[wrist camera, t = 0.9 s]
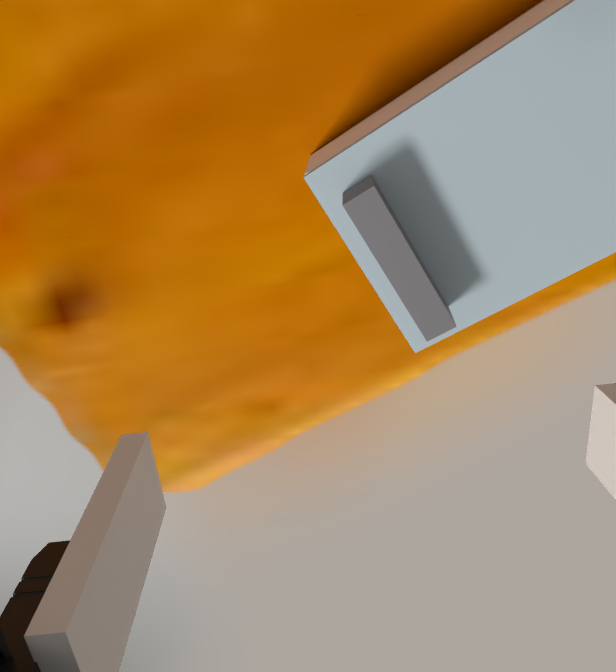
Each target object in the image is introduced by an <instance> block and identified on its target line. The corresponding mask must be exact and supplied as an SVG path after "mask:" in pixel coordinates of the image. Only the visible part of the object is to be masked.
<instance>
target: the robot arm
mask: <svg viewBox="0 0 616 672" xmlns="http://www.w3.org/2000/svg"><path fill="white" fill-rule="evenodd" d="M586 464H587V466H588V467H589V468H590V469H591V470H592V472H593V473H594V474H595V475H596V477H597V478H598V479H599V480H600V481H601V483H602V484H603V485H604V486H605V487H606V488H607V490H608V491H609V492H610V493H611V495H612V496H613V497H614V498H615V499H616V383H614V384H605V385H596V386H595V390H594V399H593V406H592V415H591V424H590V432H589V440H588V448H587V456H586ZM165 510H166V505H165V500H164V497H163V492H162V488H161V484H160V480H159V476H158V472H157V468H156V464H155V460H154V456H153V452H152V447H151V443H150V439H149V435H148V432H145V433H135V434H126V435H121V437H120V439H119V441H118V443H117V445H116V448H115V450H114V452H113V454H112V456H111V458H110V460H109V462H108V464H107V466H106V468H105V470H104V472H103V474H102V476H101V478H100V480H99V483H98V485H97V487H96V489H95V491H94V493H93V495H92V497H91V499H90V501H89V503H88V505H87V507H86V509H85V511H84V514H83V515H82V518H81V520H80V522H79V524H78V526H77V528H76V530H75V532H74V534H73V536H72V538H71V540H70V541H61V542H51V543H48V544H47V545H46V546H45V547H44V548H43V549H42V550H41V551H40V552H39V553H38V554H37V555H36V556H35V557H34V558H33V559H32V560H31V562H30V564H29V565H28V567H27V569H26V571H25V573H24V575H23V577H22V581H21V582H19V584H18V586H17V587H16V589H15V591H14V593H13V597H11V598H10V600H9V602H8V604H7V605H6V607H5V609H4V611H3V613H2V615H1V616H0V672H119V668H120V665H121V662H122V658H123V655H124V651H125V647H126V644H127V641H128V637H129V634H130V631H131V627H132V624H133V620H134V617H135V613H136V610H137V606H138V603H139V599H140V596H141V592H142V589H143V586H144V582H145V579H146V575H147V572H148V568H149V565H150V561H151V558H152V554H153V551H154V547H155V544H156V541H157V537H158V534H159V530H160V527H161V524H162V520H163V517H164V513H165Z"/></svg>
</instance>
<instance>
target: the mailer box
mask: <svg viewBox="0 0 616 672" xmlns="http://www.w3.org/2000/svg"><path fill="white" fill-rule="evenodd" d="M570 1H572V0H543V1H541V2H540V3H538V4H537V5H535V6H534V7H532V8H531V9H529V10H528V11H526V12H525V13H523V14H522V15H520V16H519V17H517V18H516V19H514V20H513V21H511V22H510V23H508V24H507V25H505V26H504V27H502V28H501V29H499V30H498V31H496V32H495V33H493V34H492V35H490V36H489V37H487V38H486V39H484V40H483V41H481V42H480V43H478V44H477V45H475V46H474V47H472V48H470V49H469V50H467V51H466V52H464V53H463V54H461V55H460V56H458V57H457V58H455V59H454V60H452V61H451V62H449V63H448V64H446V65H445V66H443V67H442V68H440V69H439V70H437V71H436V72H434V73H433V74H431V75H430V76H428V77H427V78H425V79H424V80H422V81H421V82H419V83H418V84H416V85H415V86H413V87H412V88H410V89H409V90H407V91H406V92H404V93H403V94H401V95H400V96H398V97H397V98H395V99H394V100H392V101H391V102H389V103H388V104H386V105H385V106H383V107H382V108H380V109H379V110H377V111H376V112H374V113H373V114H371V115H370V116H368V117H367V118H365V119H364V120H362V121H361V122H359V123H358V124H356V125H355V126H353V127H352V128H350V129H349V130H347V131H346V132H344V133H343V134H341V135H340V136H338V137H337V138H335V139H334V140H332V141H331V142H329V143H328V144H326V145H325V146H323V147H322V148H320V149H319V150H317V151H315V152H314V153H312V154H311V155H310V159H309V162H308V165H307V168H306V171H305V174H304V175H306V174H307V173H309V172H310V171H312V170H313V169H315V168H316V167H318V166H319V165H321V164H322V163H324V162H326V161H327V160H329V159H330V158H332V157H333V156H335V155H336V154H338V153H339V152H341V151H342V150H344V149H345V148H347V147H348V146H350V145H352V144H353V143H355V142H356V141H358V140H359V139H361V138H362V137H364V136H365V135H367V134H368V133H370V132H371V131H373V130H374V129H376V128H378V127H379V126H381V125H382V124H384V123H385V122H387V121H388V120H390V119H391V118H393V117H394V116H396V115H397V114H399V113H400V112H402V111H404V110H405V109H407V108H408V107H410V106H411V105H413V104H414V103H416V102H417V101H419V100H420V99H422V98H423V97H425V96H426V95H428V94H430V93H431V92H433V91H434V90H436V89H437V88H439V87H440V86H442V85H443V84H445V83H446V82H448V81H449V80H451V79H452V78H454V77H456V76H457V75H459V74H460V73H462V72H463V71H465V70H466V69H468V68H469V67H471V66H472V65H474V64H475V63H477V62H478V61H480V60H482V59H483V58H485V57H486V56H488V55H489V54H491V53H492V52H494V51H495V50H497V49H498V48H500V47H501V46H503V45H504V44H506V43H508V42H509V41H511V40H512V39H514V38H515V37H517V36H518V35H520V34H521V33H523V32H524V31H526V30H527V29H529V28H530V27H532V26H533V25H535V24H537V23H538V22H540V21H541V20H543V19H544V18H546V17H547V16H549V15H550V14H552V13H553V12H555V11H556V10H558V9H559V8H561V7H563V6H564V5H566V4H567V3H569V2H570Z"/></svg>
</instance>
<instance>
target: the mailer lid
mask: <svg viewBox="0 0 616 672" xmlns="http://www.w3.org/2000/svg"><path fill="white" fill-rule="evenodd" d="M304 179H305V181H306V182H307V184H308V185H309V187H310V189H311V190H312V192H313V193H314V195H315V196H316V198H317V200H318V201H319V203H320V204H321V206H322V207H323V209H324V211H325V212H326V214H327V215H328V217H329V218H330V220H331V222H332V223H333V225H334V226H335V228H336V229H337V231H338V233H339V234H340V236H341V237H342V239H343V240H344V242H345V244H346V245H347V247H348V248H349V250H350V251H351V253H352V255H353V256H354V258H355V259H356V261H357V262H358V264H359V266H360V267H361V269H362V270H363V272H364V274H365V275H366V277H367V278H368V280H369V281H370V283H371V285H372V286H373V288H374V289H375V291H376V292H377V294H378V296H379V297H380V299H381V300H382V302H383V303H384V305H385V307H386V308H387V310H388V311H389V313H390V314H391V316H392V318H393V319H394V321H395V322H396V324H397V325H398V327H399V329H400V330H401V332H402V333H403V335H404V336H405V338H406V340H407V341H408V343H409V344H410V346H411V347H412V349H413V351H414V352H415V353H417V352H419V351H421V350H423V349H425V348H427V347H429V346H431V345H433V344H435V343H436V342H438V341H440V340H442V339H444V338H446V337H448V336H450V335H452V334H454V333H456V332H458V331H460V330H462V329H464V328H466V327H468V326H470V325H472V324H474V323H476V322H478V321H480V320H482V319H484V318H486V317H488V316H490V315H492V314H494V313H496V312H498V311H500V310H502V309H504V308H506V307H508V306H510V305H512V304H514V303H516V302H518V301H520V300H522V299H524V298H526V297H528V296H530V295H532V294H534V293H536V292H538V291H539V290H541V289H543V288H545V287H547V286H549V285H551V284H553V283H555V282H557V281H559V280H561V279H563V278H565V277H567V276H569V275H571V274H573V273H575V272H577V271H579V270H581V269H583V268H585V267H587V266H589V265H591V264H593V263H595V262H597V261H599V260H601V259H603V258H605V257H607V256H609V255H611V254H613V253H615V252H616V0H572V1H570V2H569V3H567V4H566V5H564V6H563V7H561V8H559V9H558V10H556V11H555V12H553V13H552V14H550V15H549V16H547V17H546V18H544V19H543V20H541V21H540V22H538V23H537V24H535V25H533V26H532V27H530V28H529V29H527V30H526V31H524V32H523V33H521V34H520V35H518V36H517V37H515V38H514V39H512V40H511V41H509V42H508V43H506V44H504V45H503V46H501V47H500V48H498V49H497V50H495V51H494V52H492V53H491V54H489V55H488V56H486V57H485V58H483V59H482V60H480V61H478V62H477V63H475V64H474V65H472V66H471V67H469V68H468V69H466V70H465V71H463V72H462V73H460V74H459V75H457V76H456V77H454V78H452V79H451V80H449V81H448V82H446V83H445V84H443V85H442V86H440V87H439V88H437V89H436V90H434V91H433V92H431V93H430V94H428V95H426V96H425V97H423V98H422V99H420V100H419V101H417V102H416V103H414V104H413V105H411V106H410V107H408V108H407V109H405V110H404V111H402V112H400V113H399V114H397V115H396V116H394V117H393V118H391V119H390V120H388V121H387V122H385V123H384V124H382V125H381V126H379V127H378V128H376V129H374V130H373V131H371V132H370V133H368V134H367V135H365V136H364V137H362V138H361V139H359V140H358V141H356V142H355V143H353V144H352V145H350V146H348V147H347V148H345V149H344V150H342V151H341V152H339V153H338V154H336V155H335V156H333V157H332V158H330V159H329V160H327V161H326V162H324V163H322V164H321V165H319V166H318V167H316V168H315V169H313V170H312V171H310V172H309V173H307V174H306V175H304Z"/></svg>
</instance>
